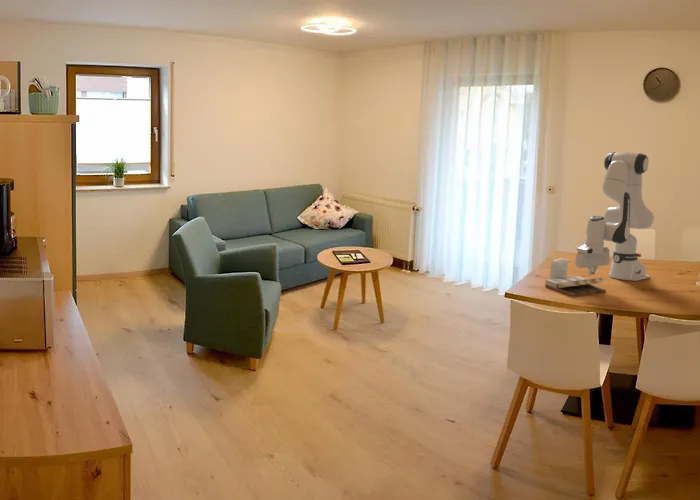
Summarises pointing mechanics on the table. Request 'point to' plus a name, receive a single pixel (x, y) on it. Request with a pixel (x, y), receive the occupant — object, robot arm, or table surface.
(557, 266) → the grey arched block
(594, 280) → the plank
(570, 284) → the plank
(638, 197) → the robot arm
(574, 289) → the floor section
